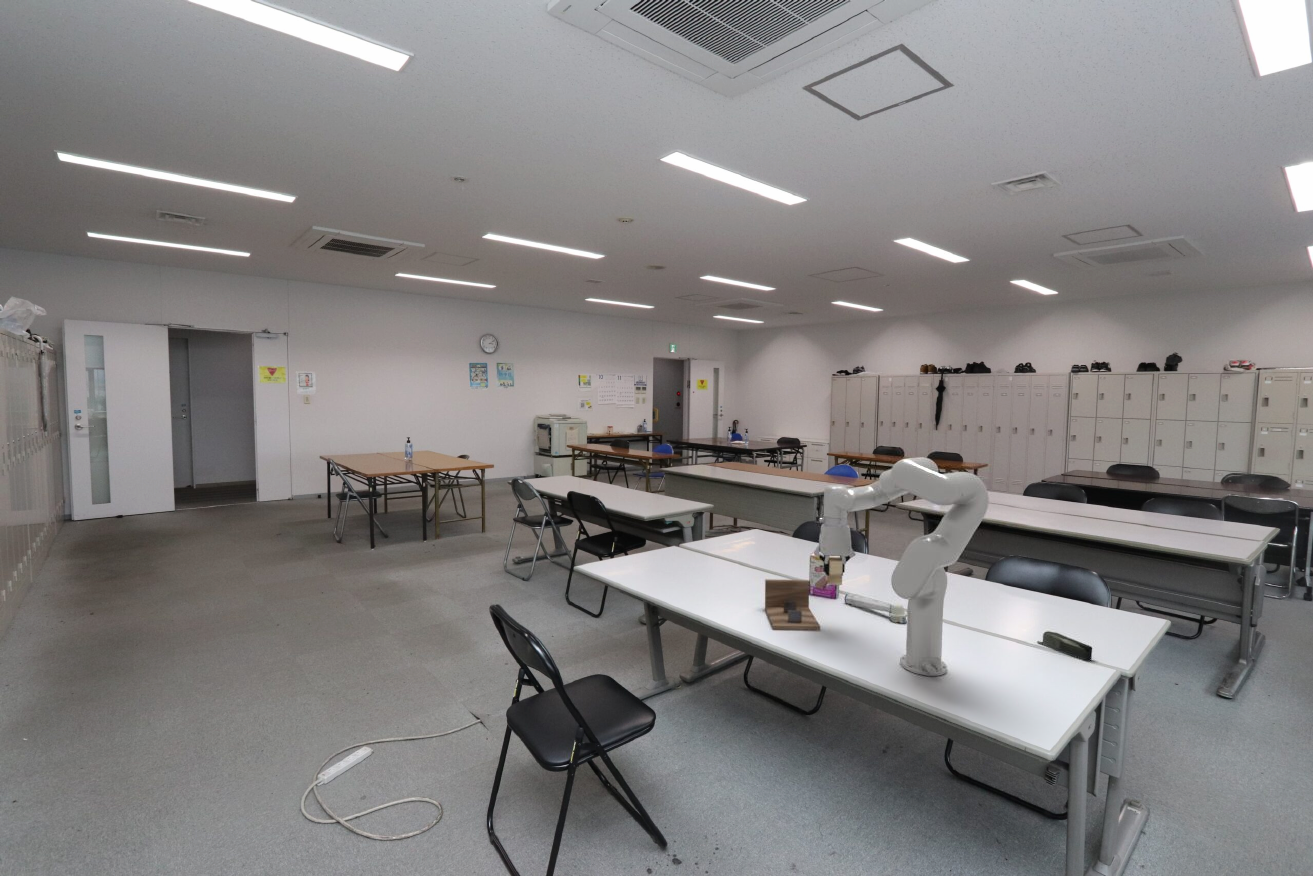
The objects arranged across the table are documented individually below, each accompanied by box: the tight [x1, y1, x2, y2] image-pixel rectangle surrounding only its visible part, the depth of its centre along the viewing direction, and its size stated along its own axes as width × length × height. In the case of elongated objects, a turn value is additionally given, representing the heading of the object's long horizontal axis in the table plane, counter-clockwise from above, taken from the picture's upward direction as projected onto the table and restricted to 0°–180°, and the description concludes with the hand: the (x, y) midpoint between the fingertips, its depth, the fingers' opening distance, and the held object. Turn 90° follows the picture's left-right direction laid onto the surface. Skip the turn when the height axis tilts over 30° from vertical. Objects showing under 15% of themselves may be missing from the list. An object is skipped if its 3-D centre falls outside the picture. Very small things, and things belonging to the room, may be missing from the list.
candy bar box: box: [808, 552, 840, 600], centre depth 234 cm, size 11×5×16 cm, turn 59°
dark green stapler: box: [1036, 630, 1093, 661], centre depth 182 cm, size 5×3×15 cm
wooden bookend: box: [764, 578, 821, 631], centre depth 209 cm, size 20×16×12 cm
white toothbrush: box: [844, 593, 907, 624], centre depth 215 cm, size 5×7×25 cm
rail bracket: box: [826, 556, 843, 586], centre depth 198 cm, size 6×4×8 cm, turn 177°
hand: (833, 573), depth 198 cm, fingers closed on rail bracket, 4 cm apart
